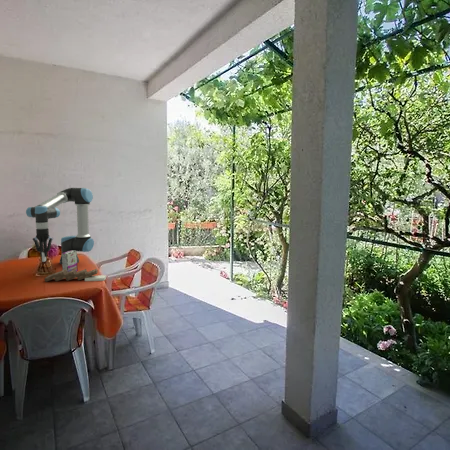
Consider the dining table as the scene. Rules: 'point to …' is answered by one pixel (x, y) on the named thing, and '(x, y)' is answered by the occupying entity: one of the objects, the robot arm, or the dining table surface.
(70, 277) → the grey brown jagged slab
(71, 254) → the candy bar box
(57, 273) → the tile
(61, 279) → the tile
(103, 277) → the tile
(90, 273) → the tile
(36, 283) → the dining table surface
